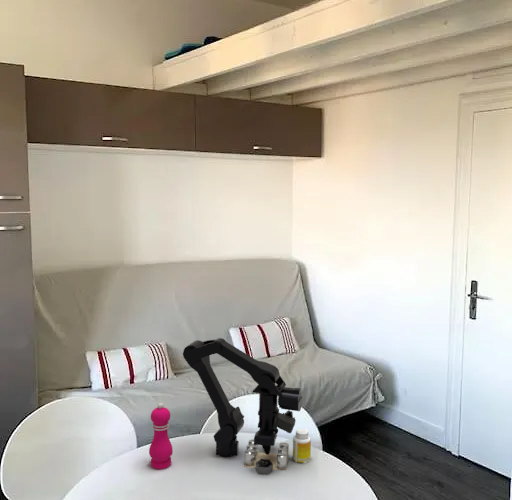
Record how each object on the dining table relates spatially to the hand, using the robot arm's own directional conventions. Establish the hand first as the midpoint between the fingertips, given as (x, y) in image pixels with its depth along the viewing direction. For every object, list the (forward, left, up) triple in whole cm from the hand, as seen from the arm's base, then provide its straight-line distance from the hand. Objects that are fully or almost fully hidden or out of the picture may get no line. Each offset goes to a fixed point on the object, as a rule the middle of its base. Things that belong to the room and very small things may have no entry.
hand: (267, 453), depth 182 cm
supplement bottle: (+11, +2, -3) cm, 11 cm away
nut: (0, -7, -2) cm, 7 cm away
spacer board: (0, -3, -3) cm, 4 cm away
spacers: (0, -1, -2) cm, 2 cm away
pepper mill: (-33, -7, -3) cm, 33 cm away
